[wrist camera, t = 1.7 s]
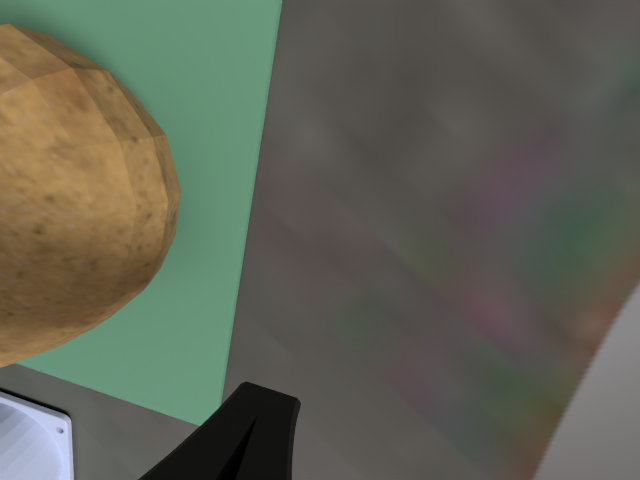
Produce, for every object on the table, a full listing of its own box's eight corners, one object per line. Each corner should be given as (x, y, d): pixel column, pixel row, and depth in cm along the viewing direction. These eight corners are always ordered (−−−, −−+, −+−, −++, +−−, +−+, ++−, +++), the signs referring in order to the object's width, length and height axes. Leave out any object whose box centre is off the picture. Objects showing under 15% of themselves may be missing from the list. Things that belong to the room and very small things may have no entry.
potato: (-45, 214, 21) (-283, 292, 14) (84, -30, 16) (-206, -115, 8) (105, 345, 22) (-43, 478, 15) (275, 163, 17) (169, 236, 10)
